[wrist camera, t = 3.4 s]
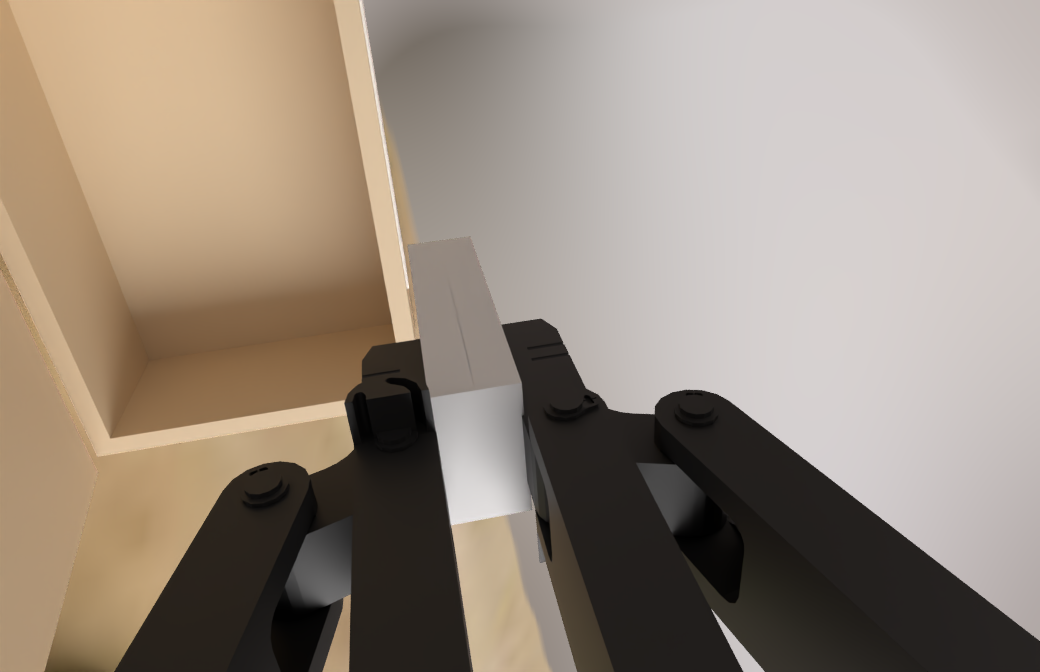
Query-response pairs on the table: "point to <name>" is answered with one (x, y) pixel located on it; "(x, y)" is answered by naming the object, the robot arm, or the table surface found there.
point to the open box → (198, 210)
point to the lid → (35, 495)
